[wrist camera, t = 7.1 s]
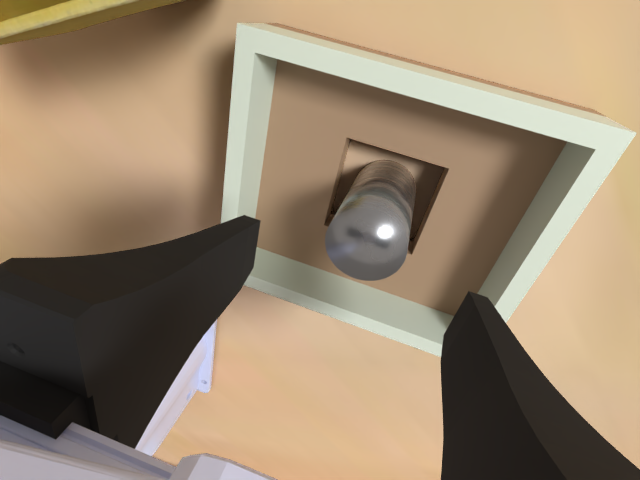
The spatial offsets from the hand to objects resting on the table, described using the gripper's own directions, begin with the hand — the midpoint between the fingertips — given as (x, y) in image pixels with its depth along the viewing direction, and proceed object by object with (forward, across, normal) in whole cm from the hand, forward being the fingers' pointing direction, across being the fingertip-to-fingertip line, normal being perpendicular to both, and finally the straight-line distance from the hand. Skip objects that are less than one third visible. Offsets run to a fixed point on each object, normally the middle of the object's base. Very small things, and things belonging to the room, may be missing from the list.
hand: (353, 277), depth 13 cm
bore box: (+8, 0, 0) cm, 8 cm away
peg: (+8, 0, 0) cm, 8 cm away
